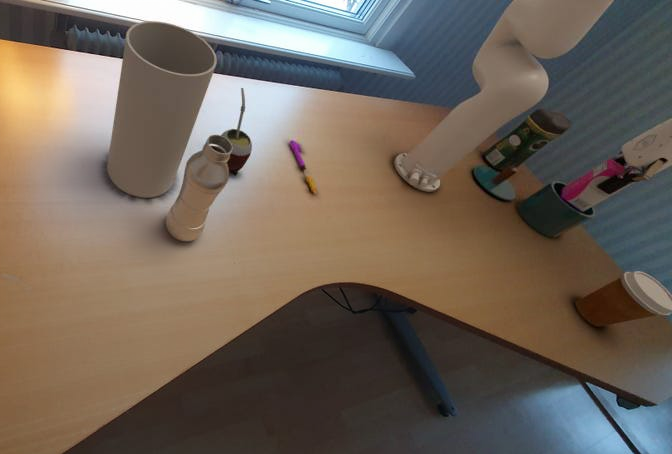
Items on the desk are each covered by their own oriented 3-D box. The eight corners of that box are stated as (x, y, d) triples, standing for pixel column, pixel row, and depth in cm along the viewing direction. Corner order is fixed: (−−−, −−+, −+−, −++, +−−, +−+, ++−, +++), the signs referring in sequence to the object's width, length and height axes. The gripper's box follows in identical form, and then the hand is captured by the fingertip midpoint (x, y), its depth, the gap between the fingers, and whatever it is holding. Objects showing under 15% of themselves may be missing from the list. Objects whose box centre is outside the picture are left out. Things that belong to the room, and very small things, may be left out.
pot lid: (512, 209, 100) (536, 194, 95) (470, 183, 101) (491, 166, 96) (512, 185, 107) (534, 170, 102) (472, 161, 109) (493, 145, 104)
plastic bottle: (173, 250, 61) (212, 166, 46) (156, 218, 64) (187, 129, 49) (206, 240, 64) (252, 159, 49) (188, 210, 67) (227, 124, 52)
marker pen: (288, 142, 88) (311, 194, 79) (291, 138, 87) (315, 191, 78) (296, 145, 89) (320, 197, 81) (299, 141, 88) (324, 193, 80)
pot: (559, 245, 96) (598, 225, 89) (517, 218, 98) (553, 197, 91) (556, 219, 103) (592, 199, 96) (517, 195, 105) (550, 173, 98)
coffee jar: (499, 155, 116) (561, 107, 102) (514, 174, 112) (581, 126, 98) (477, 151, 114) (537, 101, 99) (491, 170, 109) (557, 121, 95)
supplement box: (581, 202, 95) (635, 172, 86) (580, 213, 92) (636, 183, 83) (560, 188, 97) (611, 157, 88) (558, 198, 93) (611, 167, 84)
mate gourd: (230, 185, 74) (262, 127, 63) (198, 163, 75) (224, 102, 63) (246, 166, 79) (278, 109, 67) (215, 146, 80) (242, 86, 68)
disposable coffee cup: (560, 292, 84) (622, 267, 75) (587, 294, 87) (651, 270, 78) (589, 333, 79) (659, 312, 70) (617, 334, 82) (689, 313, 72)
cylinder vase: (93, 161, 68) (107, 25, 48) (148, 142, 74) (179, 17, 55) (132, 209, 64) (164, 83, 44) (186, 185, 71) (234, 67, 51)
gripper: (671, 98, 81) (581, 157, 95) (695, 132, 70) (590, 192, 84) (705, 117, 80) (609, 173, 94) (735, 153, 69) (621, 211, 83)
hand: (601, 182), depth 89 cm, fingers closed on supplement box, 6 cm apart
